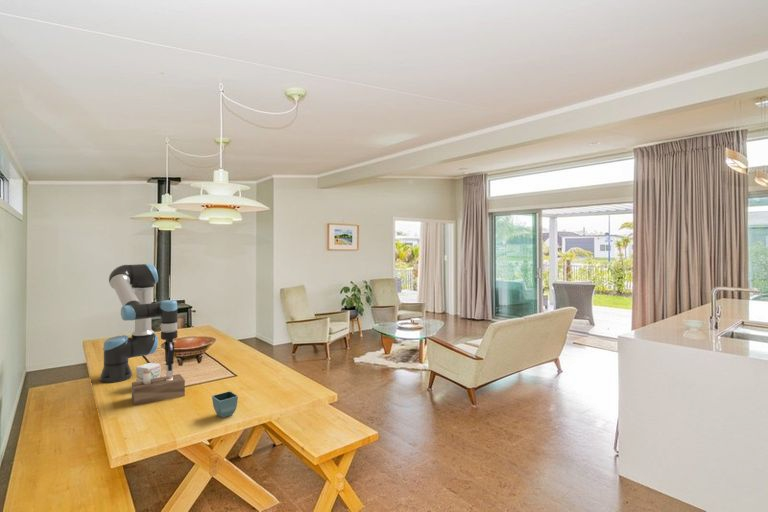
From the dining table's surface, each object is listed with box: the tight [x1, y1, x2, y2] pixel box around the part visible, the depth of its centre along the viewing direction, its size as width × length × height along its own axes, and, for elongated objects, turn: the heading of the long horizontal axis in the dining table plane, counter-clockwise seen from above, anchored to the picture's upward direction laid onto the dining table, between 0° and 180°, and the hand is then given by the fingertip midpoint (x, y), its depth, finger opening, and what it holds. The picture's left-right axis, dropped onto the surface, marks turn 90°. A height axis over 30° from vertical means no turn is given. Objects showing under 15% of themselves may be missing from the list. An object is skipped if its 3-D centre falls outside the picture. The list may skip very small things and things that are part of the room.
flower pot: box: [211, 390, 239, 419], centre depth 186 cm, size 9×9×9 cm
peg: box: [143, 370, 151, 385], centre depth 203 cm, size 3×3×8 cm
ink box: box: [135, 362, 162, 382], centre depth 220 cm, size 9×8×12 cm
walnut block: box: [131, 373, 186, 407], centre depth 206 cm, size 12×22×8 cm, turn 127°
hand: (169, 376), depth 209 cm, fingers closed
